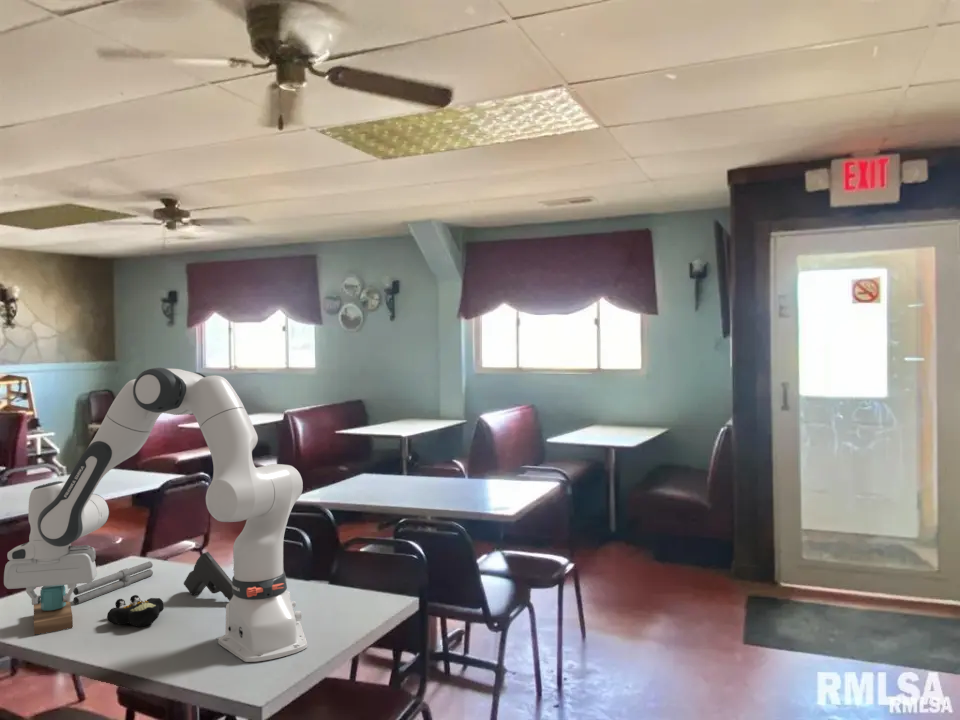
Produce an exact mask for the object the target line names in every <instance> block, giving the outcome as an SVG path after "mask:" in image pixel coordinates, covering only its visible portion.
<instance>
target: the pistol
mask: <svg viewBox="0 0 960 720" xmlns="http://www.w3.org/2000/svg"><path fill="white" fill-rule="evenodd" d="M183 585H184V587H185V588H186V589H187V590H188V591H189V593H190V594H191V596H195V595H197V593H198V594H201V593H202V592H203V591H204V590H205V588H207V589H208V590H209V592H210V593H211V594H218V593H220V592H221V594H222V595H223V596H224V597H225V598H226V599H227V600H228V602H229V601H230V600H231V599H232V597H233V593H232V578H230V576H228V575H227V573H226V572H225V570H224V569H223V568H222V567H221V566H220V565H219V563H218V562H217V560H216V559H214V556H213V555H211V554H210V552H209V551H207V552H203V553H201V555H200V556H199V557H198V559H196V562H195V565H194V566H193V570H191V571H190V572H189V573H188V574H187V576H186V578H185V580H184V581H183ZM200 592H201V593H200ZM194 594H195V595H194Z"/></svg>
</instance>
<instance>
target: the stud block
mask: <svg viewBox="0 0 960 720" xmlns="http://www.w3.org/2000/svg"><path fill="white" fill-rule="evenodd" d="M73 619H74V618H73V611H72V603H71V601H70V602H66V605H65V606H64V607H62V608H59V609H55V610H46V611H44V610H42V609H41V603H39V604H36V605H33V632H34V633H33V634H34V636H36V635H35V634H39V635H41V634H40V633H44V634H47V633H46V632H49V633H53V632H52V631H54V632H59V631H58V630H60V631H63V629H65V630H68V629H67V628H70V629H73V628H74V627H73V625H74V624H73V622H74V621H73ZM72 627H73V628H72Z"/></svg>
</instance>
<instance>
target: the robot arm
mask: <svg viewBox="0 0 960 720" xmlns="http://www.w3.org/2000/svg"><path fill="white" fill-rule="evenodd" d="M162 414H169V415H172V416H173V415H175V416H182V415H190V416H192V415H193V416H194V418H195V420H196V422H197V423H198V427H199V429H200V431H201V433H202V436H203V438H204V440H205V443H206V445H207V447H208V451H209V452H210V455H211V459H212V460H211V461H212V465H213V474H212V479H211V480H212V481H211V482H210V484H209V486H208V488H207V490H206V494H205V504H206V509H207V510H208V512H209V514H210V515H211V516H212V518H214V519H215V520H216V521H218V522H222V523H233V522H234V523H236V522H243V521H246V522H245V524H244V527H243V529H242V531H241V532H240V534H239V535H238V536H237V537H236V538H235V541H234V544H233V546H232V548H233V549H232V551H233V554H232V555H233V576H232V578H231V581H232V593H233V597H232V599H231V600H230V601H229V600H228V602H227V603H226V605H225V632H224V633H225V634H223V635H221V636H220V637H219V638H218V645H219V646H220V647H223V648H224V649H225V650H226V651H228V652H230V653H231V654H233V655H234V656H236V657H237V658H238V659H240V660H241V661H243V662H245V663H255V662H256V663H257V662H262V661H263V662H264V661H270V660H274V659H278V658H282V657H285V656H290V655H294V654H296V653H299V652H301V651H304V650H305V649H307V648H308V642H307V639H306V635H305V633H304V630H303V626H302V623H301V621H302V611H301V610H294V608H296V607H297V606H296V601H295V600H291V592H290V591H289V590H288V585H287V582H288V580H287V576H286V572H285V570H284V539H285V538H284V537H285V532H286V528H287V526H288V525H287V524H288V521H289V517H290V515H291V512H292V509H293V507H294V505H296V502H297V501H298V500H299V498H300V497H301V495H302V493H303V488H304V486H303V485H304V484H303V478H302V476H301V473H300V472H299V471H298V470H297V468H295V467H294V466H293V465H290V464H283V463H282V464H281V463H280V464H279V463H274V464H269V465H267V464H266V465H262V466H258V467H256V466H255V464H254V460H253V450H255V448H256V446H257V444H258V441H259V440H258V439H259V436H258V434H257V431H256V429H255V427H254V424H253V423H252V420H251V418H250V417H249V413H248V411H247V410H246V408H245V406H244V404H243V401H242V400H241V398H240V397H239V395H238V394H237V392H236V390H235V388H233V386H232V385H231V383H230V382H229V381H228V380H227V379H226V378H225V377H223V376H221V375H214V374H213V375H208V376H207V375H204V374H202V373H199V372H193V371H188V370H184V369H181V368H171V367H170V368H165V367H153V368H149V369H145V370H144V371H142V372H141V373H139V375H138V376H137V377H136V378H135V379H131V380H129V381H127V382H126V383H125V385H124V386H123V387H122V388H121V389H120V391H118V394H117V395H116V397H115V398H114V400H113V401H112V404H111V405H110V407H109V408H108V410H107V413H106V414H105V416H104V419H103V420H102V422H101V424H100V426H99V428H98V429H97V432H96V433H95V435H94V437H93V438H92V440H91V442H90V443H89V445H88V447H87V448H86V449H85V451H84V453H83V454H81V457H80V458H79V460H78V462H77V463H76V465H75V466H74V468H73V470H72V471H71V473H70V475H69V476H68V478H67V480H66V481H53V482H48V483H44V484H41V485H37V486H35V487H34V488H33V489H32V490H30V493H29V498H28V507H27V508H28V509H27V510H28V514H27V515H28V522H29V525H30V533H29V535H28V536H29V537H28V538H29V539H28V540H29V541H28V542H25V543H23V544H20V545H17V546H15V547H13V548H12V549H11V550H9V551H8V552H7V554H6V555H7V560H9V561H7V563H5V567H4V572H3V585H4V587H5V588H6V589H8V590H12V589H13V590H14V589H25V591H26V594H27V595H28V596H29V598H30V599H31V606H34V605H36V604H39V603H41V594H40V595H37V593H36V591H35V590H36V588H38V587H39V588H42V587H43V586H54V585H64V586H66V585H67V589H69V590H68V592H67V593H66V592H65V593H66V594H65V595H63V599H64V600H63V602H70V603H71V601H72V599H73V594H74V593H73V591H74V589H75V587H78V586H77V585H78V584H81V585H82V584H87V583H90V582H92V581H95V580H96V577H97V574H98V572H97V571H98V570H97V565H96V561H95V560H96V558H97V553H96V549H95V548H94V547H92V546H90V545H89V544H83V545H72V543H73V542H75V541H77V540H78V539H80V538H83V537H85V536H87V535H90V533H93V532H96V531H97V530H99V529H100V528H102V527H104V526H105V524H106V523H107V522H108V520H109V516H110V509H109V504H108V502H107V501H106V500H105V498H103V496H101V495H99V494H97V493H94V492H95V490H96V488H97V487H98V485H99V483H100V482H101V480H103V478H104V477H105V476H106V474H107V473H109V472H110V471H111V470H112V469H113V468H115V467H116V466H118V465H120V464H121V463H123V462H125V461H127V460H128V459H129V458H131V457H134V456H135V455H136V454H138V452H139V451H140V450H141V449H142V448H143V446H144V445H145V444H146V443H147V441H148V438H149V437H150V434H151V433H152V430H153V429H154V426H155V424H156V422H157V420H158V419H159V417H160V416H161V415H162Z"/></svg>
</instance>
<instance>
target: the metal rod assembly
mask: <svg viewBox="0 0 960 720" xmlns="http://www.w3.org/2000/svg"><path fill="white" fill-rule="evenodd" d="M153 566H154V565H153V562H152V561H150V560H148V561H146V562H144V563H141V564H138V565H136V566H133V567H128V568H124V569H121V570H118V571H117V572H114V573H112V574H110V575H107V576H104V577H101V578H98V579H94V580H93V581H92V582H90V583H83V584H81V585H79V586H76V587H75V589H74V591H73V593H72V594H73V595H75V597H73V598H72V599H73V603H74V604H75V605H78V604H79V603H80V604H82V603H85V602H87V601H90V600H92V598H93V599H95V598H97V597H100V596H102V595H106V594H108V593H110V592H113V591H116V590H119V589H121V588H125V587H128V586H130V585H131V584H133V583H136V582H139V581H142V580H144V579H147V578H149V577H151V576H153V573H154V571H153V570H152V569H151V568H152V567H153ZM76 603H78V604H76Z"/></svg>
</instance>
